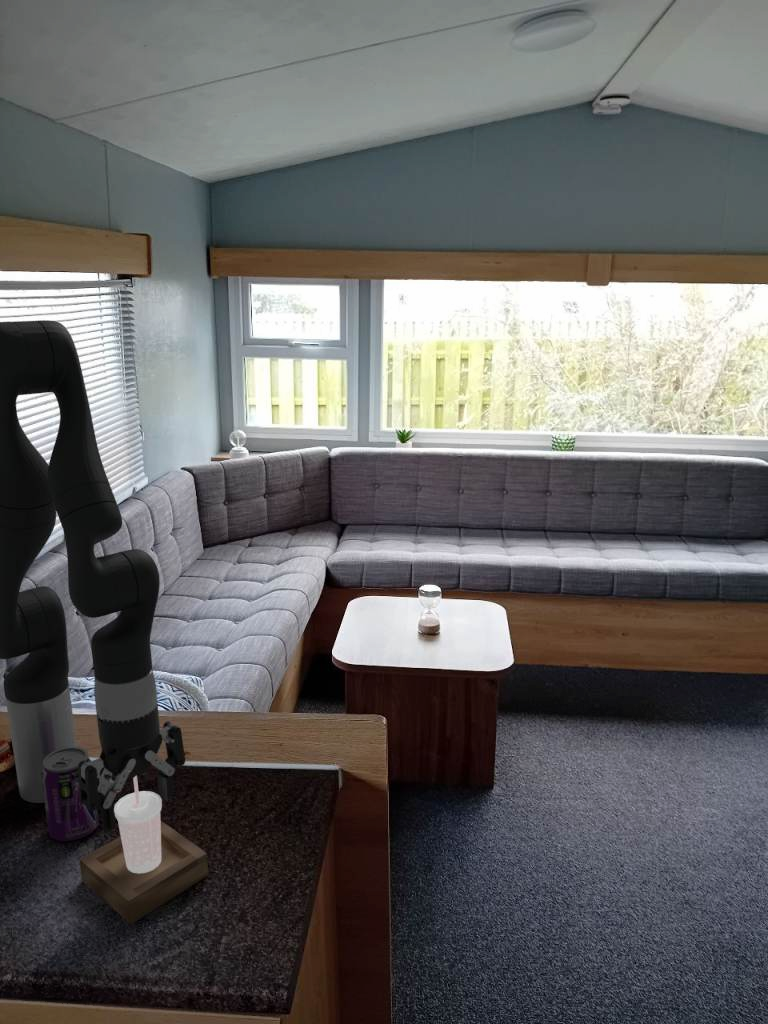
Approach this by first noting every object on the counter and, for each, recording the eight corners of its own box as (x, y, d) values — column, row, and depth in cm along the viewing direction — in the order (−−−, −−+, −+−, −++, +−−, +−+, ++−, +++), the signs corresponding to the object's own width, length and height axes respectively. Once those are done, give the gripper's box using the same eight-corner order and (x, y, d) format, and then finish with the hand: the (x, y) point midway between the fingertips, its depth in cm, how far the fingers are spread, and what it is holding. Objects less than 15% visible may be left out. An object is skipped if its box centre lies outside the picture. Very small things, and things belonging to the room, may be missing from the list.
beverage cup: (152, 841, 119) (143, 753, 115) (175, 861, 115) (167, 771, 111) (112, 861, 115) (101, 771, 111) (134, 884, 111) (124, 790, 107)
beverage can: (83, 848, 122) (74, 774, 119) (39, 842, 123) (28, 769, 120) (108, 817, 129) (100, 747, 125) (66, 812, 130) (57, 742, 127)
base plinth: (82, 881, 115) (79, 859, 114) (158, 837, 124) (155, 817, 123) (131, 924, 108) (128, 901, 107) (208, 874, 116) (206, 853, 115)
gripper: (157, 674, 116) (167, 778, 120) (59, 715, 106) (73, 826, 110) (190, 692, 111) (199, 799, 116) (91, 736, 101) (104, 852, 105)
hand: (137, 812), depth 113 cm, fingers open, 8 cm apart
